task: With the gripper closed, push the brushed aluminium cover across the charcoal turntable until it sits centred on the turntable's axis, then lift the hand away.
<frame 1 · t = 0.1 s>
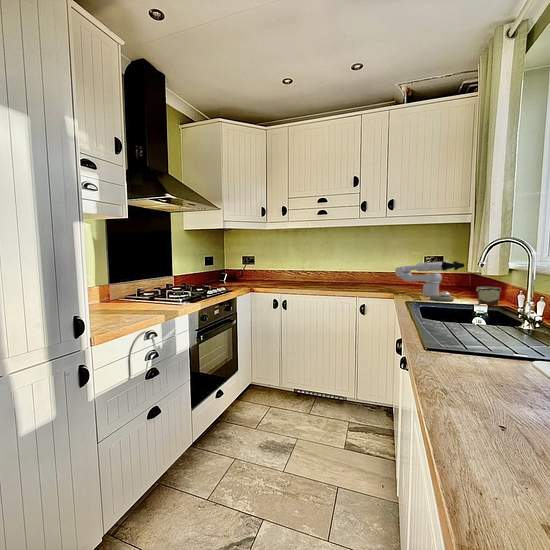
hand: (459, 265, 185), 22 cm above the worktop, tool horizontal, fingers open, 7 cm apart
turntable: (441, 298, 188), point 1 cm above the worktop, hinge at 0.0°, touching cover
cover: (445, 296, 189), point 2 cm above the worktop, touching turntable
food container: (485, 305, 169), on the worktop
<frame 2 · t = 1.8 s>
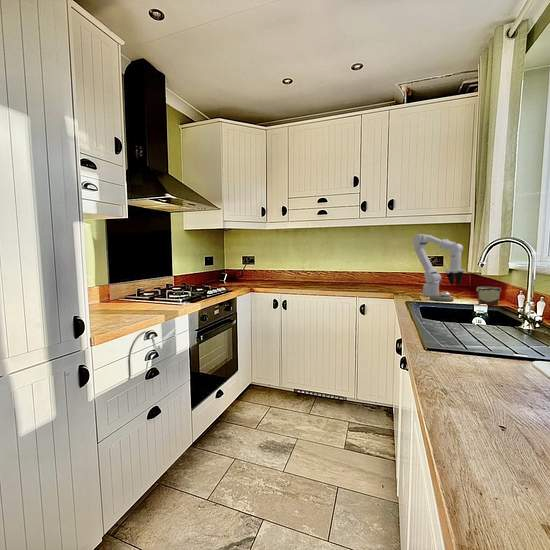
hand: (454, 284, 191), 9 cm above the worktop, tool pointing down, fingers open, 5 cm apart
nothing on the worktop moved.
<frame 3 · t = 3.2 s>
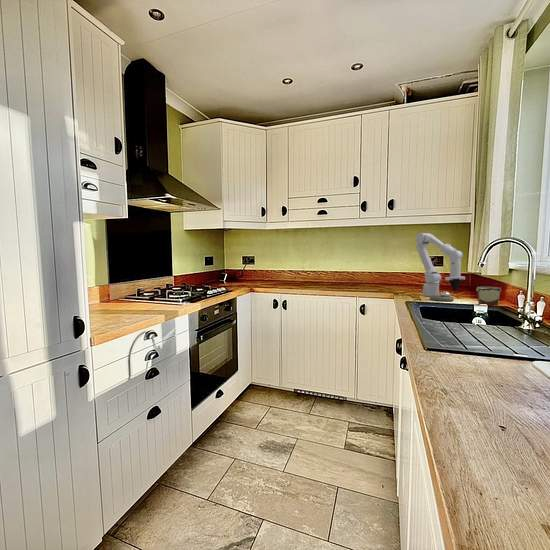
hand: (454, 291, 191), 5 cm above the worktop, tool pointing down, fingers closed
nothing on the worktop moved.
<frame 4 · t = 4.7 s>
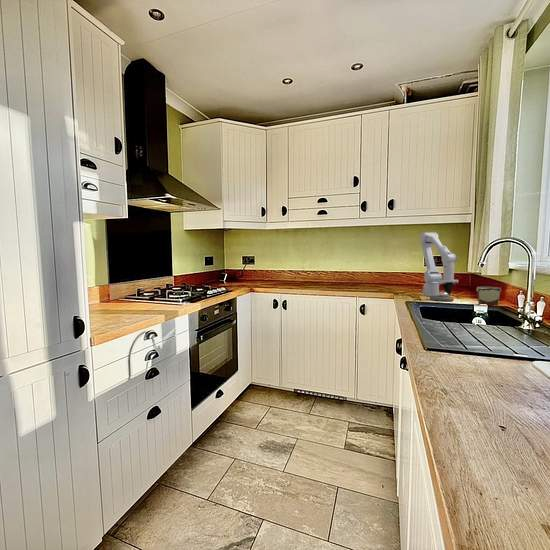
hand: (448, 294, 189), 3 cm above the worktop, tool pointing down, fingers closed
turntable: (441, 298, 188), point 1 cm above the worktop, hinge at 0.0°
cover: (443, 296, 188), point 2 cm above the worktop, touching gripper
everything else where it was.
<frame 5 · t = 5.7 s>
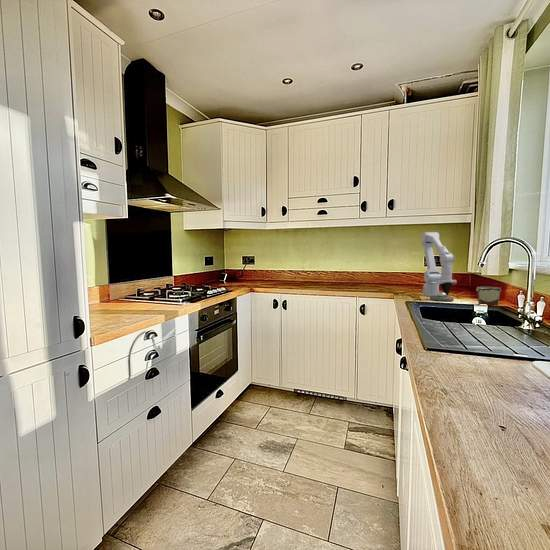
hand: (446, 294, 189), 3 cm above the worktop, tool pointing down, fingers closed
turntable: (441, 298, 188), point 1 cm above the worktop, hinge at 0.0°, touching cover
cover: (441, 296, 188), point 2 cm above the worktop, touching gripper, turntable
everything else where it was.
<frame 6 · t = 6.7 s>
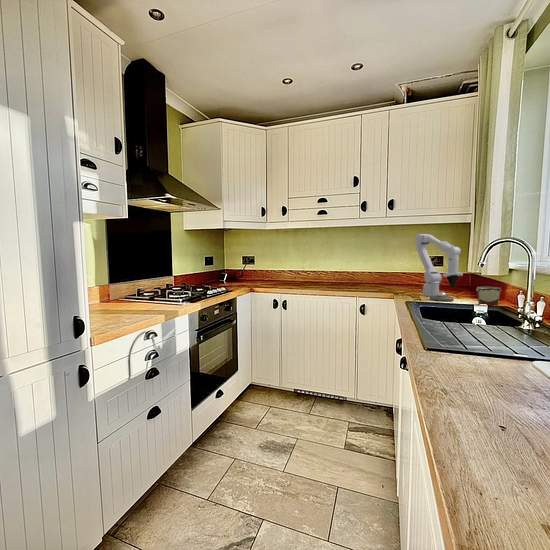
hand: (452, 287, 190), 7 cm above the worktop, tool pointing down, fingers closed
cover: (441, 296, 188), point 2 cm above the worktop, touching turntable
everything else where it was.
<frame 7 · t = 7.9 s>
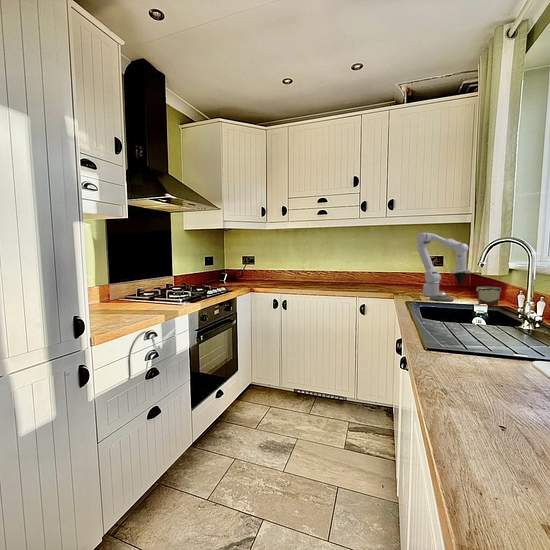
hand: (460, 284, 189), 9 cm above the worktop, tool pointing down, fingers closed
nothing on the worktop moved.
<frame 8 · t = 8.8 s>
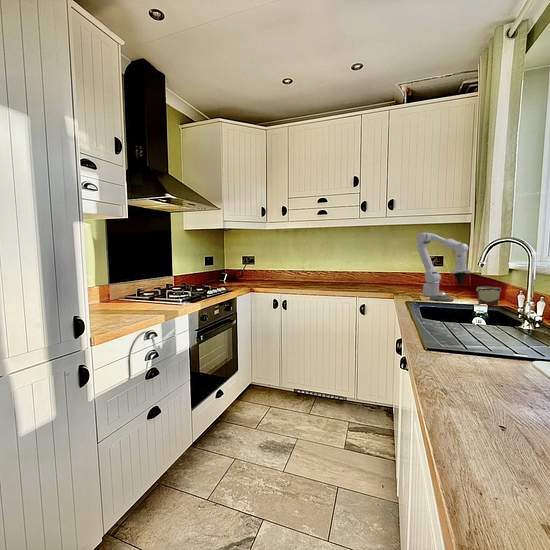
hand: (460, 284, 189), 9 cm above the worktop, tool pointing down, fingers closed
nothing on the worktop moved.
at the end: cover 0.2 cm from the turntable (horizontally); cover point 2.0 cm above the worktop; cover tilted 0° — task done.
